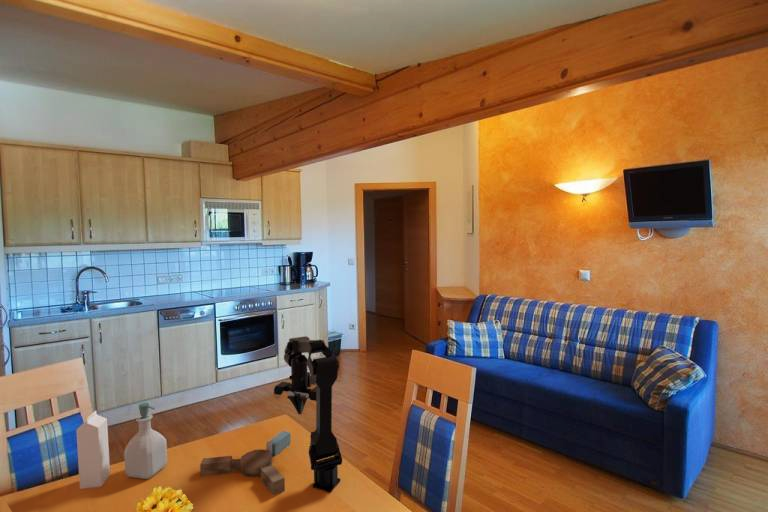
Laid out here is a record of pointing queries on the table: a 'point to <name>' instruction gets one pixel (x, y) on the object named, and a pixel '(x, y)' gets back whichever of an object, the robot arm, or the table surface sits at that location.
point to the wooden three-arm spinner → (247, 468)
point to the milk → (93, 452)
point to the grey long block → (278, 442)
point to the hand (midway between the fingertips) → (300, 414)
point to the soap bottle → (145, 448)
